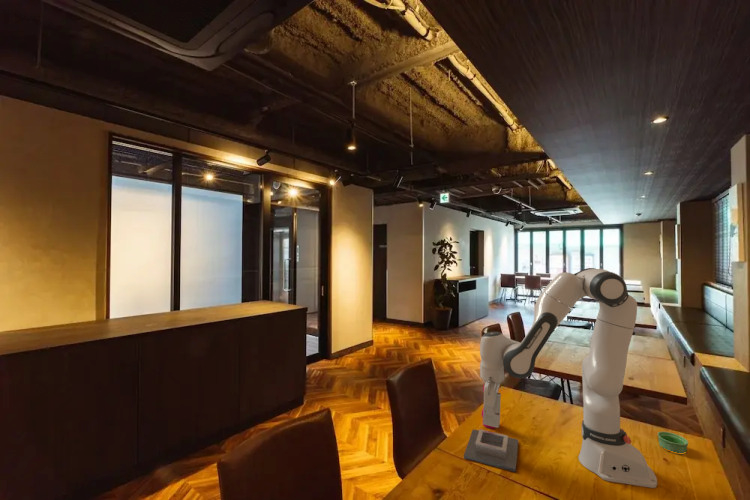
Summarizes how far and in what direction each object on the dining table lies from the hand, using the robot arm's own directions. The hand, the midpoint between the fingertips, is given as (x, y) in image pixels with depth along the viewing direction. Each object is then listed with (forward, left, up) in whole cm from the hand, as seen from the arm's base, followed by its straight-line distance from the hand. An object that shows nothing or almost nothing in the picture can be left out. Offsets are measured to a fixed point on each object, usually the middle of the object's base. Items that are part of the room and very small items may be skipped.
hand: (492, 408), depth 129 cm
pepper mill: (+3, -19, -16) cm, 25 cm away
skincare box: (0, 0, -6) cm, 6 cm away
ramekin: (-64, -32, -17) cm, 73 cm away
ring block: (0, 0, -16) cm, 16 cm away
